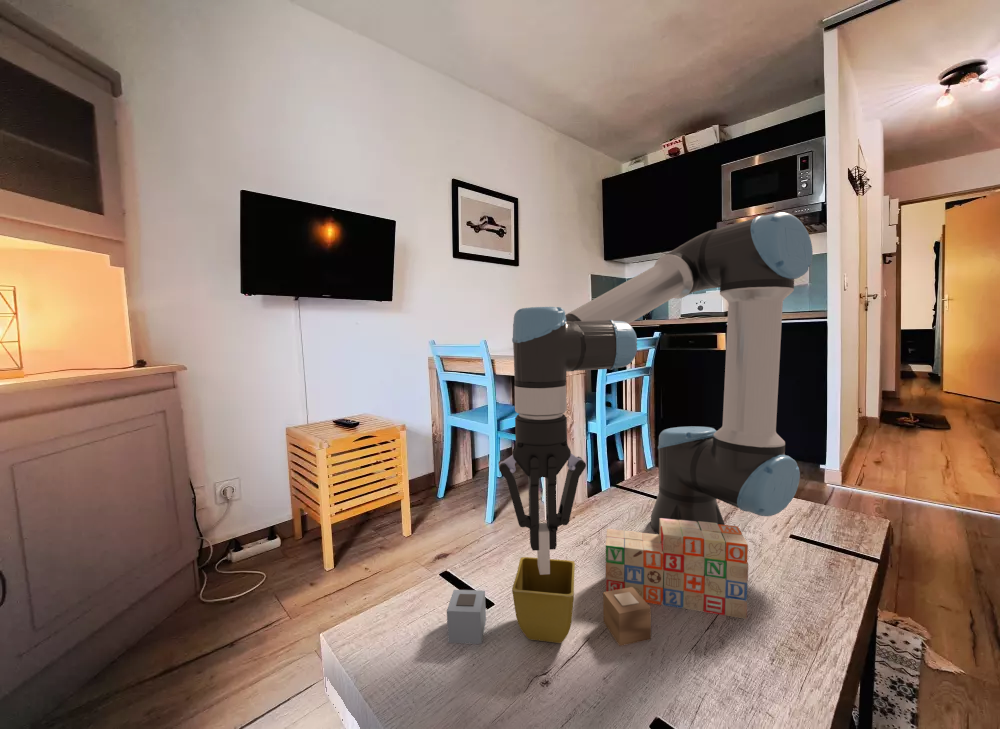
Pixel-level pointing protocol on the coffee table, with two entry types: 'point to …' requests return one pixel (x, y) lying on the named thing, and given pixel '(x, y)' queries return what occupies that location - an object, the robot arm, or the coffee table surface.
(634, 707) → the coffee table surface
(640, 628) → the walnut cube marked
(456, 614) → the grey cube marked
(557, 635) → the flower pot
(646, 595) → the stack of blocks
